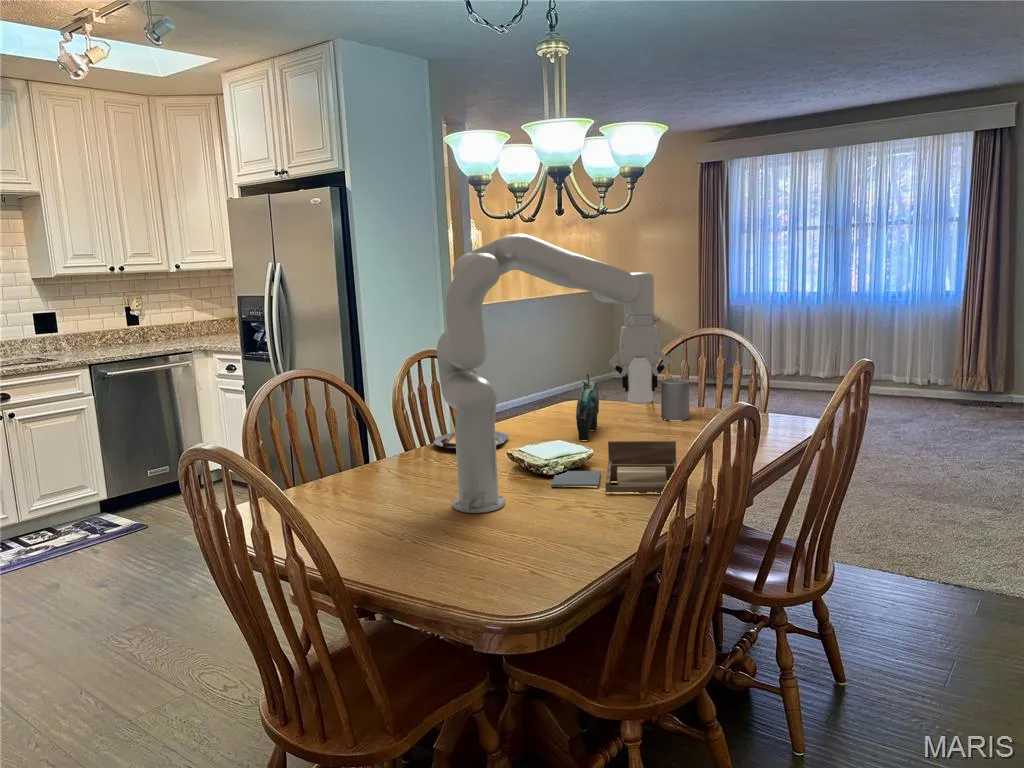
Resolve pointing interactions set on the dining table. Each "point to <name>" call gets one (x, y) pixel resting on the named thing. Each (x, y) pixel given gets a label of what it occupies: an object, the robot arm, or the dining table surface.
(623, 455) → the open wooden box
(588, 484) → the mat
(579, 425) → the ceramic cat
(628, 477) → the offcut upper
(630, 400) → the can
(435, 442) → the food plate
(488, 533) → the dining table surface
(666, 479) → the offcut lower
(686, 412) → the pillar candle
